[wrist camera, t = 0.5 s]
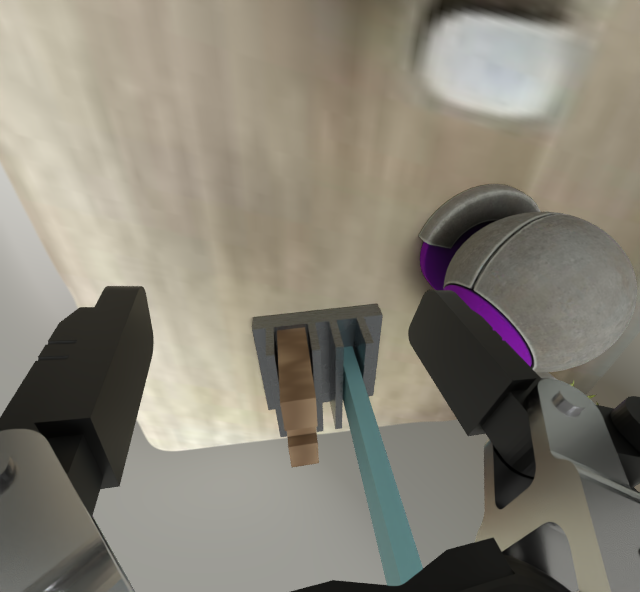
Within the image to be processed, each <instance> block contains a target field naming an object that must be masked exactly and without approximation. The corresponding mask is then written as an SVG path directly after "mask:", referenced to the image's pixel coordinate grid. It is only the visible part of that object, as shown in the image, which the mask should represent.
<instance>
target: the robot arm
mask: <svg viewBox="0 0 640 592" xmlns="http://www.w3.org/2000/svg"><path fill="white" fill-rule="evenodd" d="M408 335H409V341H410V344H411V346H412V347H413V349H414V351H415V352H416V354H417V355H418V357H419V359H420V360H421V362H422V363H423V365H424V367H425V368H426V370H427V371H428V373H429V375H430V376H431V378H432V379H433V381H434V383H435V384H436V386H437V387H438V389H439V391H440V392H441V394H442V395H443V397H444V399H445V400H446V402H447V403H448V405H449V407H450V408H451V410H452V411H453V413H454V415H455V416H456V418H457V419H458V421H459V423H460V424H461V426H462V427H463V429H464V430H465V432H466V434H467V435H468V436H472V435H479V434H486V435H487V436H488V437H489V439H488V440H487V442H486V443H485V446H484V491H485V512H484V518H483V521H482V524H481V526H480V528H479V530H478V533H477V536H476V540H475V543H471V544H467V545H464V546H460V547H456V548H452V549H448V550H446V551H445V552H444V553H442V554H441V555H440V556H439V557H437V558H436V559H435V560H434V561H432V562H431V563H430V564H429V565H427V566H426V567H425V568H423V569H422V570H421V571H420V572H418V573H417V574H416V575H414V576H413V577H412V578H411V579H409V580H408V581H407V582H406V583H404V584H402V585H399V586H389V585H378V584H367V583H356V582H346V581H335V580H332V581H329V582H325V583H322V584H318V585H314V586H310V587H306V588H303V589H299V590H295V591H291V592H575V591H578V590H579V592H640V492H638V491H637V490H636V489H635V488H634V487H635V486H636V485H638V484H639V483H640V397H636V396H632V397H628V398H627V399H625V400H624V401H623V402H622V403H621V404H619V405H618V406H617V407H616V408H615V409H613V408H608V407H604V406H599V405H595V404H594V403H593V402H592V401H591V400H590V399H589V398H588V397H587V396H586V395H585V394H583V393H582V392H581V391H579V390H578V389H576V388H575V387H573V386H571V385H569V384H567V383H565V382H562V381H559V380H556V379H550V378H548V379H542V378H541V377H540V376H539V375H538V374H537V373H536V372H535V371H534V370H533V369H532V368H531V367H530V366H529V365H528V364H527V363H526V362H525V361H524V360H523V359H522V358H521V357H520V356H519V355H518V354H517V353H516V351H515V350H514V349H513V348H512V347H511V346H510V345H509V344H508V343H507V342H506V341H503V340H502V337H501V336H500V335H499V334H498V333H497V332H496V331H495V330H493V328H492V327H491V326H490V324H489V323H488V322H487V321H486V320H485V319H484V318H483V317H482V316H481V315H479V314H478V313H476V312H475V311H473V310H472V309H471V308H470V307H469V306H468V305H467V304H466V303H465V302H464V301H463V300H462V299H461V298H460V297H459V296H458V295H457V294H456V293H455V292H454V291H451V290H429V291H427V292H426V293H425V294H424V295H423V297H422V300H421V302H420V304H419V306H418V309H417V311H416V313H415V315H414V317H413V320H412V322H411V324H410V327H409V332H408ZM152 354H153V330H152V325H151V319H150V314H149V308H148V303H147V297H146V292H145V289H144V288H143V287H142V286H107V287H105V289H104V290H103V292H102V294H101V296H100V298H99V300H98V302H97V304H96V305H95V307H80V308H78V309H77V310H76V311H74V312H73V313H72V314H71V315H69V316H68V317H67V318H65V319H64V320H63V321H61V322H60V323H59V324H58V326H57V328H56V329H55V331H54V332H53V334H52V336H51V338H50V339H49V340H48V345H45V347H44V349H43V350H42V352H41V353H40V355H39V356H38V358H39V359H38V361H35V363H34V364H33V366H32V368H31V369H30V371H29V372H28V374H27V376H26V377H25V379H24V380H23V382H22V384H21V385H20V387H19V388H18V390H17V392H16V393H15V395H14V397H13V398H12V400H11V401H10V403H9V404H8V406H7V408H6V409H5V411H4V412H3V414H2V416H1V417H0V592H135V591H134V589H133V587H132V585H131V583H130V581H129V580H128V578H127V576H126V574H125V573H124V571H123V569H122V567H121V565H120V564H119V562H118V560H117V558H116V556H115V555H114V553H113V551H112V549H111V548H110V546H109V544H108V542H107V540H106V539H105V537H104V535H103V533H102V532H101V530H100V528H99V526H98V524H97V523H96V521H95V519H94V517H93V512H94V508H95V505H96V501H97V498H98V495H99V491H100V489H104V488H111V487H118V486H120V482H121V477H122V474H123V470H124V466H125V462H126V457H127V454H128V450H129V446H130V442H131V438H132V434H133V430H134V426H135V422H136V418H137V414H138V410H139V406H140V402H141V398H142V394H143V390H144V386H145V382H146V378H147V374H148V370H149V366H150V362H151V359H152Z"/></svg>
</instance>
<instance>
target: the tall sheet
mask: <svg viewBox="0 0 640 592" xmlns="http://www.w3.org/2000/svg"><path fill="white" fill-rule="evenodd" d="M343 401H344V405H345V410H346V414H347V418H348V422H349V426H350V431H351V434H352V439H353V443H354V448H355V452H356V456H357V460H358V464H359V469H360V472H361V477H362V481H363V485H364V490H365V494H366V498H367V502H368V506H369V510H370V515H371V519H372V523H373V527H374V532H375V536H376V540H377V544H378V548H379V553H380V557H381V561H382V565H383V570H384V574H385V578H386V582H387V585H389V586H399V585H402V584H404V583H406V582H407V581H408V580H409V579H411V578H412V577H413V576H414V575H416V574H417V573H418V572H420V571H421V570H422V569H423V567H422V564H421V561H420V558H419V555H418V551H417V548H416V545H415V542H414V539H413V536H412V533H411V529H410V526H409V523H408V520H407V517H406V514H405V510H404V507H403V504H402V501H401V498H400V495H399V491H398V489H397V485H396V482H395V479H394V476H393V473H392V470H391V466H390V463H389V460H388V457H387V454H386V450H385V448H384V444H383V441H382V438H381V435H380V432H379V428H378V425H377V422H376V419H375V416H374V413H373V409H372V406H371V403H370V400H369V397H368V394H367V391H366V387H365V384H364V381H363V378H362V375H361V372H360V368H359V365H358V362H357V359H356V356H355V353H354V350H353V346H350V347H344V363H343Z"/></svg>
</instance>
